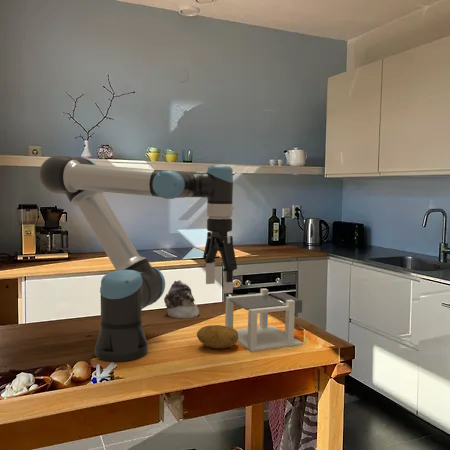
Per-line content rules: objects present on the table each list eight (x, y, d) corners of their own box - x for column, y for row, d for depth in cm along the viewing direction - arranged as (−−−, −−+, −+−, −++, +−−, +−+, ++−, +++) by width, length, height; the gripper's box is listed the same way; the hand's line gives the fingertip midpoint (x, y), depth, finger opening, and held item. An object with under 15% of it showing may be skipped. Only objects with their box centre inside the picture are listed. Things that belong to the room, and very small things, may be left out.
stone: (203, 316, 184) (204, 287, 176) (189, 332, 177) (189, 302, 169) (174, 303, 190) (173, 274, 182) (159, 318, 183) (157, 289, 174)
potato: (238, 353, 141) (238, 330, 140) (195, 352, 141) (195, 329, 141) (238, 343, 150) (239, 321, 149) (198, 342, 150) (198, 320, 150)
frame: (251, 351, 142) (252, 305, 141) (224, 332, 161) (225, 291, 159) (302, 344, 149) (304, 300, 148) (271, 326, 168) (272, 287, 167)
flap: (247, 319, 144) (248, 306, 144) (228, 308, 157) (228, 296, 157) (304, 313, 152) (304, 301, 152) (281, 303, 165) (281, 291, 165)
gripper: (249, 220, 132) (248, 296, 134) (215, 215, 155) (214, 279, 157) (225, 221, 129) (223, 298, 131) (193, 215, 152) (192, 280, 154)
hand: (218, 288), depth 144 cm, fingers open, 13 cm apart
